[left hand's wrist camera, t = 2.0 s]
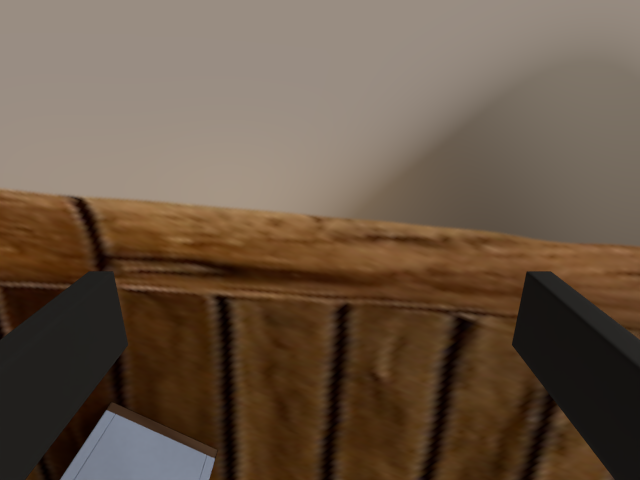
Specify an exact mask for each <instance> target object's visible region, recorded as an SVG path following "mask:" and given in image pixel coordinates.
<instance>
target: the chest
mask: <svg viewBox="0 0 640 480" xmlns="http://www.w3.org/2000/svg"><path fill="white" fill-rule="evenodd" d="M217 451H218V450H216V449H214V448H212V447H210V446H207V445H205V444H203V443H201V442H199V441H196V440H194V439H192V438H190V437H188V436H185V435H183V434H181V433H179V432H177V431H174V430H172V429H170V428H168V427H166V426H163V425H161V424H159V423H157V422H155V421H153V420H150V419H148V418H146V417H144V416H142V415H139V414H137V413H135V412H133V411H131V410H128V409H126V408H124V407H122V406H120V405H117V404H115V403H113V402H111V403H110V405H109V406H108V408H107V409H106V411H105V413H104V414H103V416H102V417H101V419H100V420H99V422H98V423H97V425H96V426H95V428H94V429H93V431H92V432H91V434H90V435H89V437H88V438H87V440H86V441H85V443H84V444H83V446H82V447H81V449H80V450H79V452H78V453H77V455H76V456H75V458H74V459H73V461H72V462H71V464H70V465H69V467H68V468H67V470H66V471H65V473H64V474H63V476H62V477H61V479H60V480H209V478H210V474H211V471H212V467H213V464H214V460H215V458H216V454H217Z"/></svg>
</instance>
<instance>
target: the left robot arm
mask: <svg viewBox="0 0 640 480" xmlns="http://www.w3.org/2000/svg"><path fill="white" fill-rule="evenodd" d="M127 346H128V342H127V337H126V332H125V327H124V322H123V317H122V312H121V307H120V302H119V298H118V293H117V288H116V283H115V278H114V273H113V272H88V273H87V274H85V275H84V276H83V277H81V278H80V279H79V280H77V281H76V282H75V283H74V284H72V285H71V286H70V287H68V288H67V289H66V290H64V291H63V292H62V293H61V294H59V295H58V296H57V297H55V298H54V299H53V300H51V301H50V302H49V303H48V304H46V305H45V306H44V307H42V308H41V309H40V310H39V311H37V312H36V313H35V314H33V315H32V316H31V317H29V318H28V319H27V320H26V321H24V322H23V323H22V324H20V325H19V326H18V327H16V328H15V329H14V330H13V331H11V332H10V333H9V334H7V335H6V336H5V337H3V338H2V339H1V340H0V480H25V479H26V478H27V476H28V475H29V474H30V472H31V471H32V470H33V469H34V467H35V466H36V465H37V463H38V462H39V461H40V459H41V458H42V457H43V455H44V454H45V453H46V452H47V450H48V449H49V448H50V446H51V445H52V444H53V442H54V441H55V440H56V438H57V437H58V436H59V435H60V433H61V432H62V431H63V429H64V428H65V427H66V425H67V424H68V423H69V421H70V420H71V419H72V418H73V416H74V415H75V414H76V412H77V411H78V410H79V408H80V407H81V406H82V404H83V403H84V402H85V401H86V399H87V398H88V397H89V395H90V394H91V393H92V391H93V390H94V389H95V387H96V386H97V385H98V384H99V382H100V381H101V380H102V378H103V377H104V376H105V374H106V373H107V372H108V370H109V369H110V368H111V366H112V365H113V364H114V363H115V361H116V360H117V359H118V357H119V356H120V355H121V353H122V352H123V351H124V349H125V348H126V347H127ZM512 346H513V347H514V348H515V349H516V351H517V352H518V353H519V355H520V356H521V357H522V359H523V360H524V361H525V363H526V364H527V365H528V366H529V368H530V369H531V370H532V372H533V373H534V374H535V376H536V377H537V378H538V380H539V381H540V382H541V384H542V385H543V386H544V387H545V389H546V390H547V391H548V393H549V394H550V395H551V397H552V398H553V399H554V401H555V402H556V403H557V404H558V406H559V407H560V408H561V410H562V411H563V412H564V414H565V415H566V416H567V418H568V419H569V420H570V421H571V423H572V424H573V425H574V427H575V428H576V429H577V431H578V432H579V433H580V435H581V436H582V437H583V438H584V440H585V441H586V442H587V444H588V445H589V446H590V448H591V449H592V450H593V452H594V453H595V454H596V455H597V457H598V458H599V459H600V461H601V462H602V463H603V465H604V466H605V467H606V469H607V470H608V471H609V472H610V474H611V475H612V476H613V478H614V479H615V480H640V340H639V339H638V338H637V337H635V336H634V335H633V334H631V333H630V332H629V331H627V330H626V329H625V328H624V327H622V326H621V325H620V324H618V323H617V322H616V321H614V320H613V319H612V318H611V317H609V316H608V315H607V314H605V313H604V312H603V311H601V310H600V309H599V308H598V307H596V306H595V305H594V304H592V303H591V302H590V301H589V300H587V299H586V298H585V297H583V296H582V295H581V294H579V293H578V292H577V291H576V290H574V289H573V288H572V287H570V286H569V285H568V284H566V283H565V282H564V281H563V280H561V279H560V278H559V277H557V276H556V275H555V274H553V273H552V272H527V273H526V278H525V283H524V288H523V293H522V298H521V302H520V307H519V312H518V317H517V322H516V327H515V332H514V337H513V342H512Z"/></svg>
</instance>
